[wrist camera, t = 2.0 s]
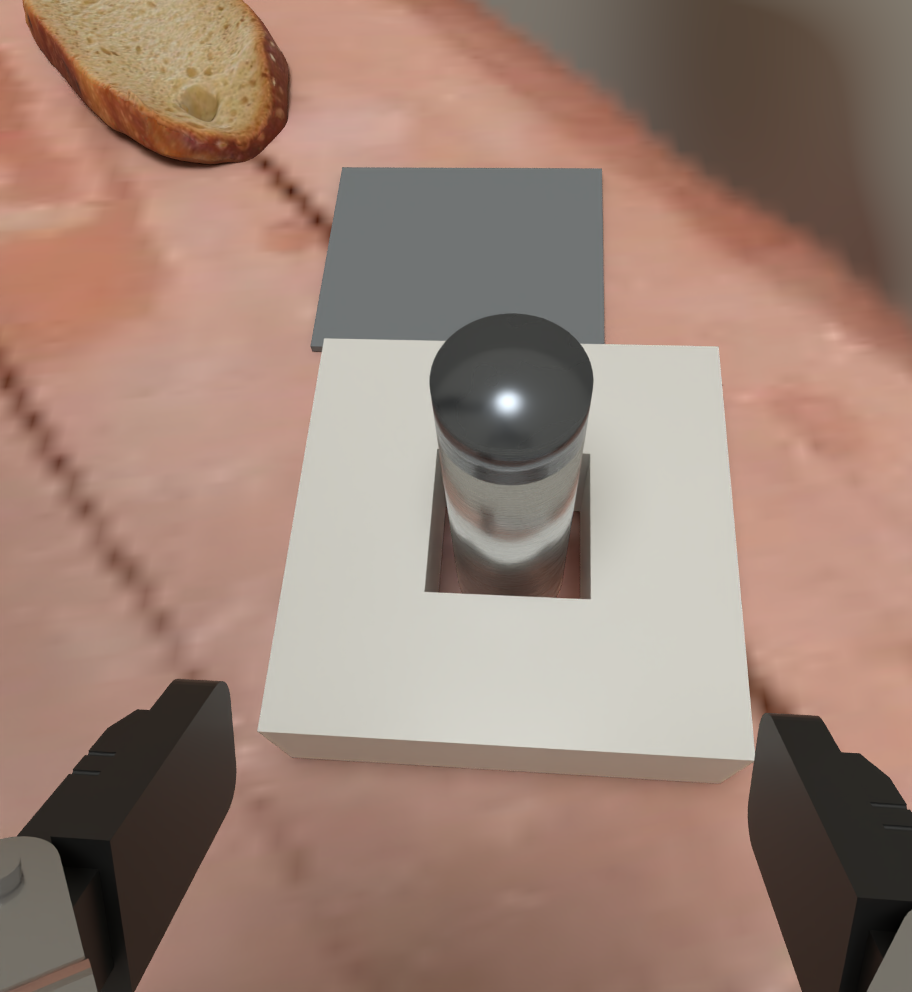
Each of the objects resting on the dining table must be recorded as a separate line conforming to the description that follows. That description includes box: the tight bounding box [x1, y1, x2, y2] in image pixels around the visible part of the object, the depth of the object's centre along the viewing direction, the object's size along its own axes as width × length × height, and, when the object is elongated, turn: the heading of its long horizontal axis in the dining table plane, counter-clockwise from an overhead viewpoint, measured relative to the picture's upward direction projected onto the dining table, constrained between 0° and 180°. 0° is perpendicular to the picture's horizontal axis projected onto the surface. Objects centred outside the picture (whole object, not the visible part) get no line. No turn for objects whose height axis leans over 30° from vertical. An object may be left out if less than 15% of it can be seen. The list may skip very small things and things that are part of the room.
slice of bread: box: [23, 0, 289, 164], centre depth 50 cm, size 18×18×4 cm
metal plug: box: [429, 313, 594, 598], centre depth 29 cm, size 4×4×14 cm
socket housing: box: [258, 338, 755, 784], centre depth 33 cm, size 16×16×5 cm
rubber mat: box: [311, 167, 604, 351], centre depth 43 cm, size 14×12×1 cm
